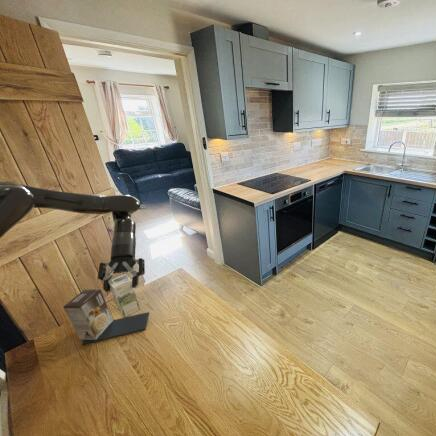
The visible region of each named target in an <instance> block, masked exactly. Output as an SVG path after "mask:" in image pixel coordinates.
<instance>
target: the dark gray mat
mask: <svg viewBox="0 0 436 436" xmlns="http://www.w3.org/2000/svg"><path fill="white" fill-rule="evenodd" d="M149 315H150V311H147V312H144V313H138V314H133V315H129V316H127V317H125V318H124V317H120V318H117V319H113V321H112V322H111V324H110V325H109V326H108V327H107V328H106V329H105V330H104V331H103V333H102V334H101V335H100V336H99V337H98V338H97V339H96V340H86V339H83V341H82V343H81V346H85V345H89V344H93V343H98V342H102V341H105V340H109V339H113V338H118V337H122V336H126V335H129V334H135V333H138V332H143V331H146V329H147V325H148V320H149Z"/></svg>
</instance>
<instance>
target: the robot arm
mask: <svg viewBox="0 0 436 436" xmlns="http://www.w3.org/2000/svg"><path fill="white" fill-rule="evenodd" d="M140 208H141V202H140V200H139V199H138V198H136V197H135V196H133V195H129V194H126V195H125V194H117V195H115V194H114V195H101V194H92V193H91V194H90V193H79V192H70V191H69V192H68V191H59V190H52V189H47V188H40V187H35V186H29V185H26V184H21V183H17V182H12V181H8V180H0V239H2V238H3V237H4V236H5V235H6V234H7V233H8V232H9V231H10V230H11V229H12V228H13V227H15V226H16V225H17V224H19V222H21V221H22V220H23V219H25V218H26V216H28V215H29V214H30V213H31V212H32V211H33V210H34V209H48V210H49V209H50V210H57V211H65V212H69V213H75V214H84V215H85V214H86V215H108V214H111V217H112V220H113V231H112V232H113V233H112V238H111V249H110V260H109V262H100V263H99V266H98V272H97V280H100V281H103V285H102V286H103V287H102V290H103V291H104V292H105V293H107V292H111V288H110V285H109V282H108V281H110V280H112V279H113V278H114V277H115V276H116V275H117V274H122V273H130V274H131V276H132V277H131V280H132V288H134V289H136V288H137V287H138V286H139V280H140V279H139V278H140V277H141V276H144V275H146V268H145V263H146V262H145V259H144V258H142V257H139V258H138V259H136V247H137V239H136V231H137V230H136V229H137V228H136V227H137V225H136V224H137V223H136V221H135V220H133V219H132V215H133V214H135V213H137V212H138V211H139V210H140ZM135 265H138V271H137V270H136V269H135V268H134V267H135ZM109 267H110V269H109ZM107 269H108V271H107Z"/></svg>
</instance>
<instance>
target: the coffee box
mask: <svg viewBox="0 0 436 436" xmlns="http://www.w3.org/2000/svg"><path fill="white" fill-rule="evenodd" d="M63 310H64V312H65V313H66V315H67V317H68V319H69V321H70V323H71V325H72V326H73V329H74V331H75V333H76V334H77V336H78V338H79V340H84V339H86V340H96V339H97V338H98V337H99V336H100V335H101V334H102V333H103V331H104V330H105V329H106V328H107V327H108V326H109V325H110V324H111V322H112V321H113V320H114V318H113V316H112V313H111V312H110V309H109V307H108V304H107V302H106V299H105V297H104V294H103V292H102V290H101V289H97V288H96V289H95V288H94V289H93V288H91V289H87V288H86V289H83V290H82V291H81V292H79V293H78V294H77V295H76V296H75V297H73V298H72V299H71V300H70V301H68V302H67V303H66V304H65V305H64V306H63Z"/></svg>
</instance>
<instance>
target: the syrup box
mask: <svg viewBox="0 0 436 436" xmlns="http://www.w3.org/2000/svg"><path fill="white" fill-rule="evenodd" d="M108 282H109V285H110V292H111V293H112V296H113V298H114V301H115V304H116V307H117V310H118V312H119V313H120V315H121V316H122V318H125V317H129V316H132V315H134V314H135V313H136V312H139V311H140V310H141V307H140V303H139V299H138V297H137V293H136V290H135V288H132V278H130V277H129V276H128V275H127V274H126V273H125V274H122V275H120V276H119V275H118V276H117V277H115V278H112V279H111V280H110V281H108Z"/></svg>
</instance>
